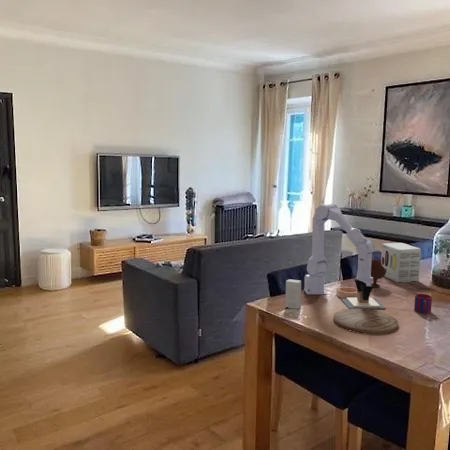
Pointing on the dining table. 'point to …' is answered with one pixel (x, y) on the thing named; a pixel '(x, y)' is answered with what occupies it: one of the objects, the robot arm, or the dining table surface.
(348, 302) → the mat
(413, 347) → the dining table surface
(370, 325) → the trivet
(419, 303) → the mug
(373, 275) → the ice cream bowl
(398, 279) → the supplement box
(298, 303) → the skincare box
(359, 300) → the cover
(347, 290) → the bowl
